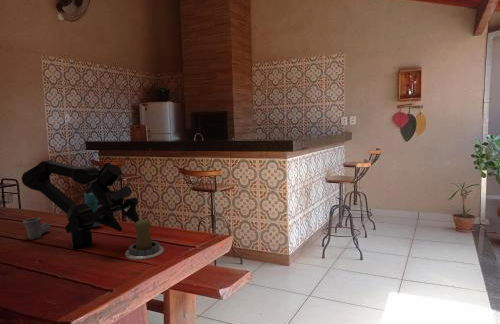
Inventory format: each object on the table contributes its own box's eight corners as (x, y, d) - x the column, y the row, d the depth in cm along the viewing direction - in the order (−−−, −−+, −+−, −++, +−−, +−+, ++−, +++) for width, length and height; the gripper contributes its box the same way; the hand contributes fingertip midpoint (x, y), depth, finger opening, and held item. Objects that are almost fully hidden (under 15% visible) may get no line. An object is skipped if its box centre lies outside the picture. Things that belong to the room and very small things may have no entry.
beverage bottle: (86, 227, 168) (82, 182, 166) (102, 225, 171) (98, 181, 168) (86, 230, 162) (82, 185, 160) (103, 228, 165) (99, 183, 162)
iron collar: (131, 262, 123) (130, 254, 123) (121, 251, 134) (120, 244, 134) (169, 253, 130) (168, 246, 130) (156, 244, 141) (156, 237, 141)
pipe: (53, 231, 162) (52, 213, 161) (34, 241, 150) (32, 221, 149) (40, 232, 163) (38, 214, 162) (20, 241, 150) (18, 222, 149)
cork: (132, 251, 132) (130, 220, 131) (148, 246, 136) (146, 217, 135) (140, 255, 128) (138, 223, 127) (156, 250, 132) (154, 220, 131)
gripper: (95, 184, 125) (124, 219, 122) (133, 175, 142) (159, 206, 139) (79, 205, 129) (107, 240, 126) (117, 195, 146) (142, 225, 143)
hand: (130, 227), depth 133 cm, fingers open, 9 cm apart
